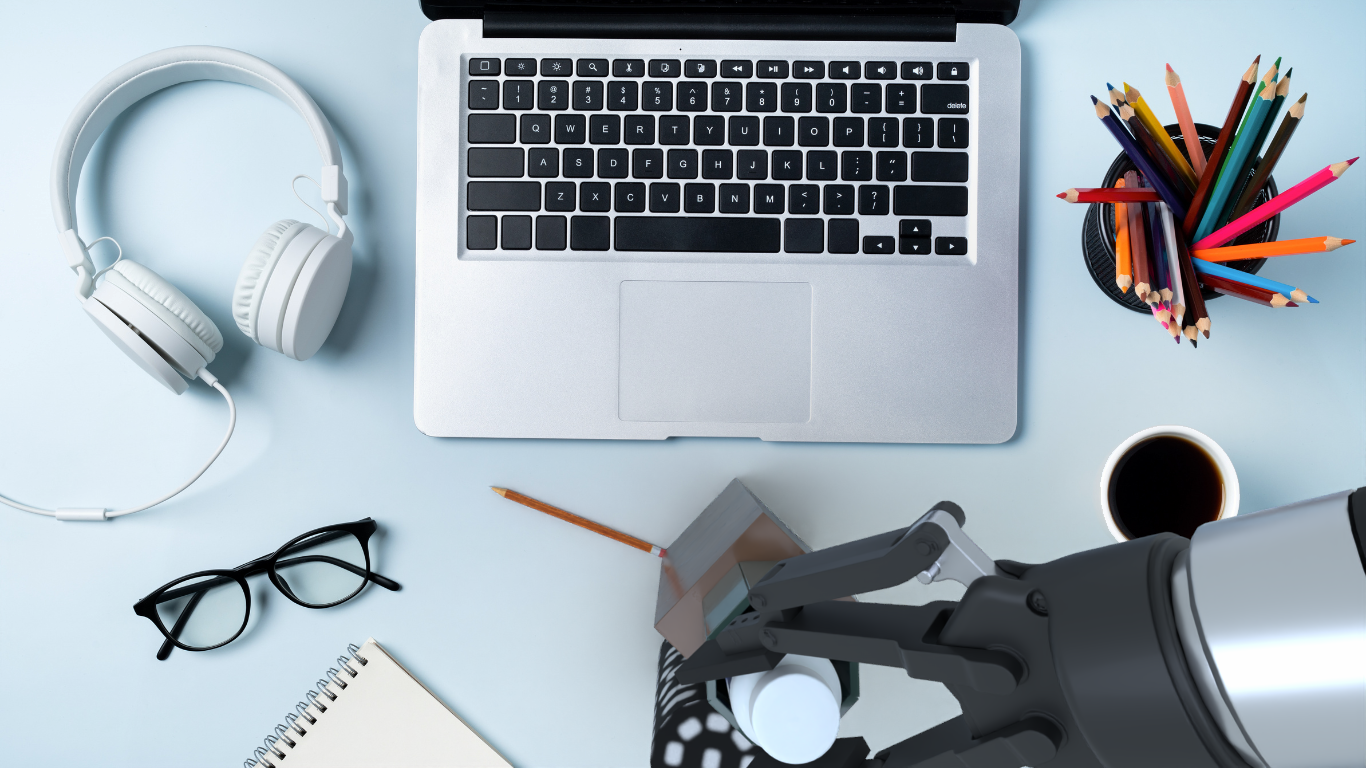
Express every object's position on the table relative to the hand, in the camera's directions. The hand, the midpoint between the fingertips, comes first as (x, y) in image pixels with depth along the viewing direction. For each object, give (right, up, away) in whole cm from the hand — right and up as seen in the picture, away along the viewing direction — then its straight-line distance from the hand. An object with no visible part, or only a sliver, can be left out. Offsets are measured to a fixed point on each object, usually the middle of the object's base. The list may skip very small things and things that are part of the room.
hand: (724, 715), depth 39 cm
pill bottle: (+3, +1, +5) cm, 6 cm away
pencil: (-12, +4, +34) cm, 36 cm away
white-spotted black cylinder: (0, -9, +33) cm, 35 cm away
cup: (+3, +2, +9) cm, 10 cm away
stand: (+3, +1, +33) cm, 34 cm away
